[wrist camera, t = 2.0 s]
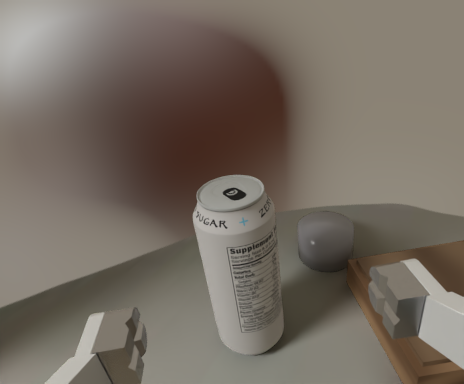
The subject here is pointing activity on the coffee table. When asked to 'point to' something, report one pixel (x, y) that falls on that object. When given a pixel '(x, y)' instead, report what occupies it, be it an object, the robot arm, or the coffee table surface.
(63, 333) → the coffee table surface
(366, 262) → the wooden tray
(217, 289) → the energy drink can
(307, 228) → the grey rounded cylinder
